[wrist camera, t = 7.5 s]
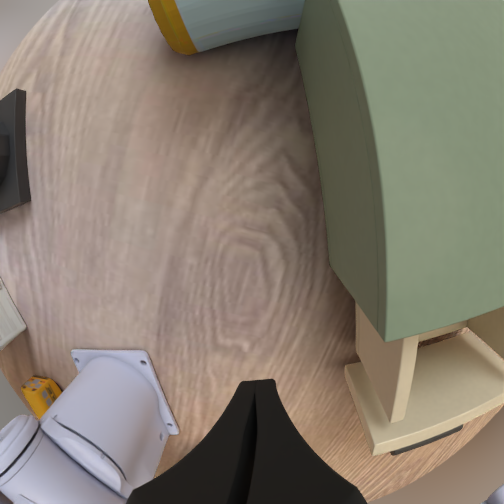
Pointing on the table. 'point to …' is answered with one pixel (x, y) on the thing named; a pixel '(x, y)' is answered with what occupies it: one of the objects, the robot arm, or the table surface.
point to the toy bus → (40, 393)
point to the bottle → (221, 21)
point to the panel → (13, 152)
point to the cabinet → (410, 154)
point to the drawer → (425, 382)
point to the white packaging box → (9, 318)
